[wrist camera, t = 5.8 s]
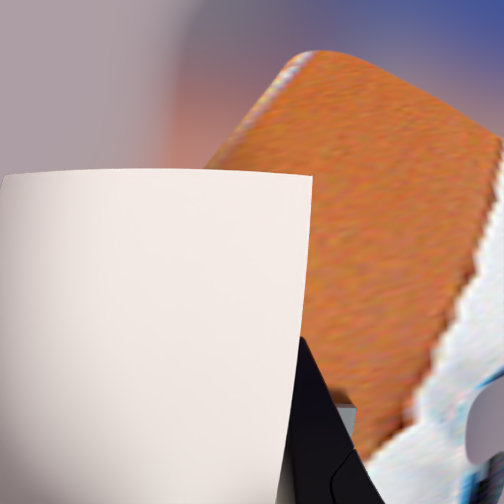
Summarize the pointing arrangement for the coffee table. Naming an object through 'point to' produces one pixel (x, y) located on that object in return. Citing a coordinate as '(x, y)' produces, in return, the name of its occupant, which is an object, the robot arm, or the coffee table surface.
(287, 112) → the coffee table surface
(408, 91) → the coffee table surface
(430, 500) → the coffee table surface
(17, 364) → the panel
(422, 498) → the coffee table surface
